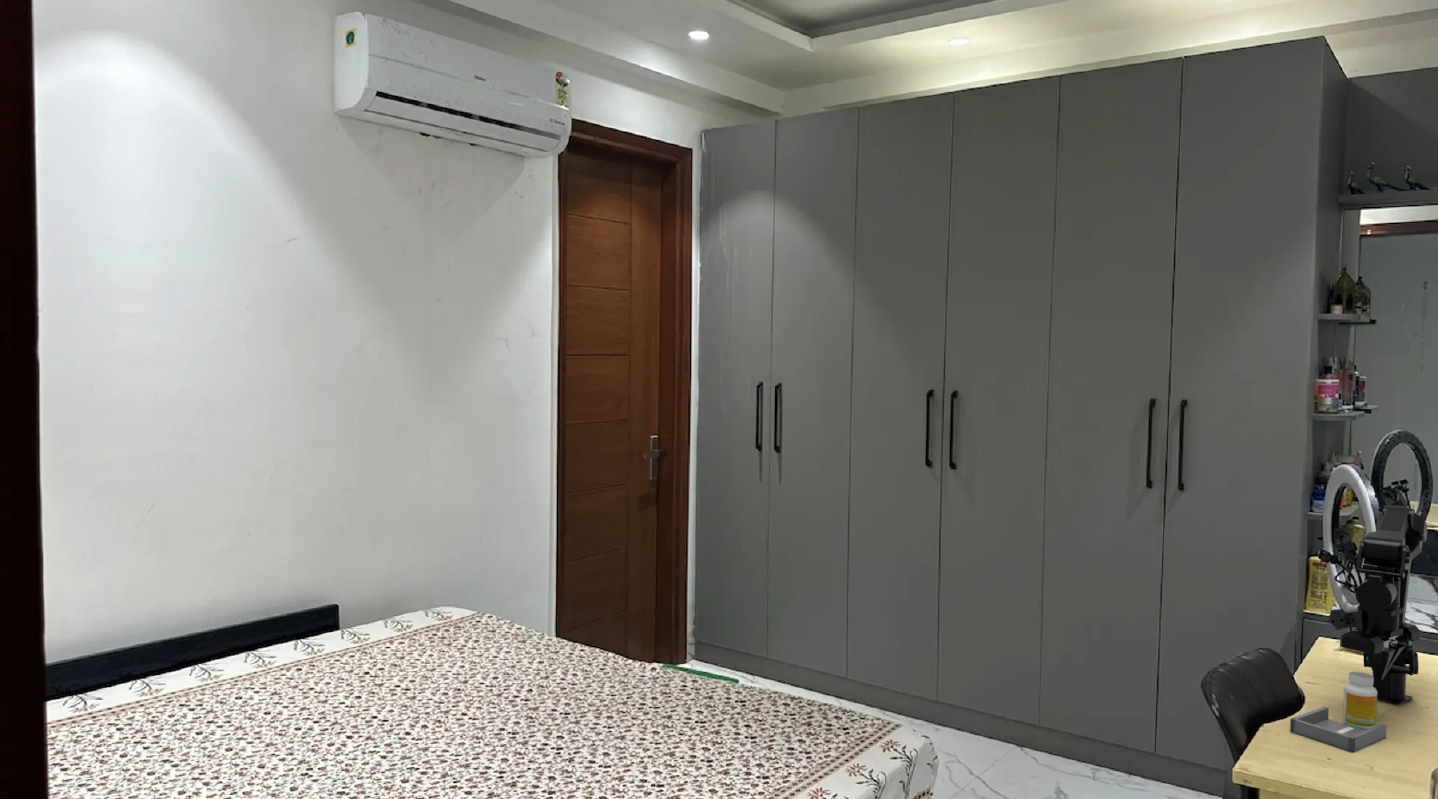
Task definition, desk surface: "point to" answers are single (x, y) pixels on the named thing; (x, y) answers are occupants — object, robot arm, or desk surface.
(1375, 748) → the desk surface
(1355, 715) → the supplement bottle
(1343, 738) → the tray
